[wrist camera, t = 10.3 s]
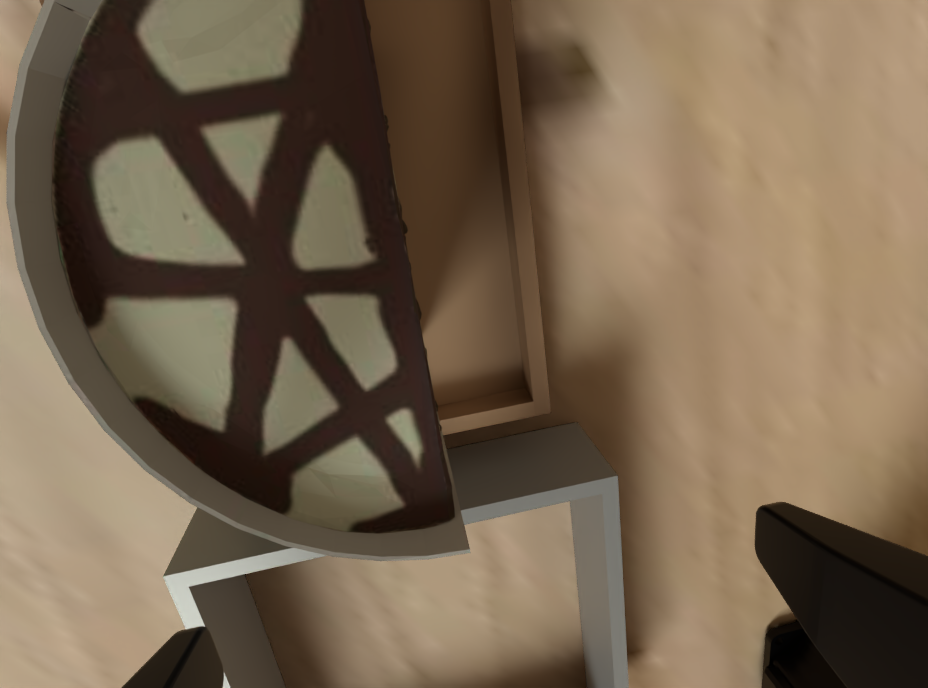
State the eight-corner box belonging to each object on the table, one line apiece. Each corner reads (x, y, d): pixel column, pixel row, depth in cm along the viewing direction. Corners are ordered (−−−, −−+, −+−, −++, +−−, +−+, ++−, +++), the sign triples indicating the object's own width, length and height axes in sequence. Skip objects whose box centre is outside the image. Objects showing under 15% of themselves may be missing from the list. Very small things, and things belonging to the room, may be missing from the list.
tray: (482, -103, 16) (497, -137, 14) (535, 390, 22) (550, 413, 20) (54, -56, 15) (8, -86, 13) (229, 452, 20) (214, 482, 19)
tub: (577, 422, 22) (617, 475, 19) (598, 695, 28) (633, 778, 24) (200, 501, 21) (163, 576, 17) (303, 773, 27) (292, 874, 23)
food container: (133, 12, 15) (-272, -226, 6) (356, -14, 15) (330, -269, 6) (256, 409, 19) (145, 651, 10) (426, 376, 20) (474, 574, 10)
